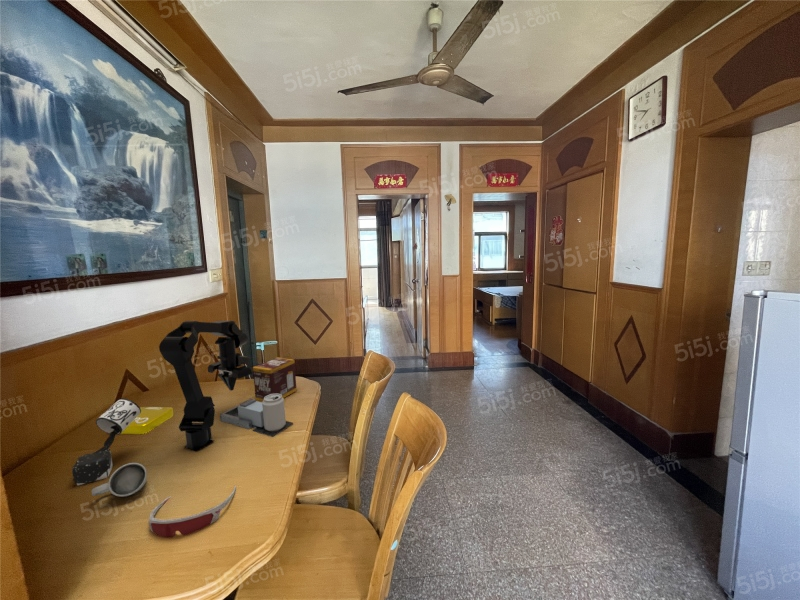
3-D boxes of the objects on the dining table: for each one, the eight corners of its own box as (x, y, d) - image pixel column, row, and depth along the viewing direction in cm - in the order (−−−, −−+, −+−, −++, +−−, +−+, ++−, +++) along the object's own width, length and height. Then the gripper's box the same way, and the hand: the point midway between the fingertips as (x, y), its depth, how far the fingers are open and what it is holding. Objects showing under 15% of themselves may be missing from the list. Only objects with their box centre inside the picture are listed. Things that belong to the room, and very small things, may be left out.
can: (281, 432, 117) (279, 400, 116) (261, 432, 117) (258, 401, 116) (288, 421, 125) (286, 391, 123) (269, 422, 125) (266, 392, 123)
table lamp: (111, 400, 107) (103, 393, 99) (146, 405, 110) (141, 398, 103) (67, 490, 94) (54, 490, 86) (109, 491, 97) (100, 491, 89)
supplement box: (255, 400, 145) (252, 367, 143) (280, 387, 159) (277, 356, 157) (272, 404, 141) (269, 369, 139) (297, 390, 155) (294, 359, 153)
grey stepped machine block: (261, 427, 120) (260, 409, 119) (238, 420, 125) (237, 404, 124) (274, 419, 125) (272, 403, 124) (252, 413, 130) (250, 397, 129)
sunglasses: (132, 550, 71) (131, 527, 71) (171, 505, 87) (170, 486, 88) (218, 536, 74) (218, 513, 74) (240, 495, 91) (239, 477, 91)
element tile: (176, 416, 133) (175, 405, 132) (145, 437, 118) (143, 424, 117) (141, 416, 134) (140, 405, 133) (106, 436, 119) (105, 424, 119)
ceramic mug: (141, 496, 90) (152, 465, 94) (139, 496, 84) (151, 463, 88) (92, 496, 85) (105, 463, 89) (86, 496, 79) (101, 461, 83)
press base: (272, 437, 115) (272, 429, 114) (219, 422, 127) (219, 414, 126) (293, 424, 124) (292, 416, 123) (242, 410, 136) (241, 403, 135)
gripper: (261, 349, 130) (264, 386, 133) (230, 344, 138) (233, 379, 141) (237, 357, 120) (241, 397, 123) (204, 351, 128) (209, 389, 131)
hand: (231, 390), depth 129 cm, fingers closed
